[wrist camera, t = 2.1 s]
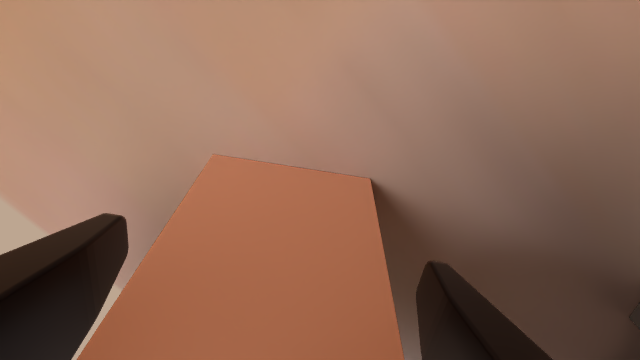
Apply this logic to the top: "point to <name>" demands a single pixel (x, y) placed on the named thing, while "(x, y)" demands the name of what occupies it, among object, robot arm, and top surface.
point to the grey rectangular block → (636, 316)
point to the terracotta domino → (259, 273)
